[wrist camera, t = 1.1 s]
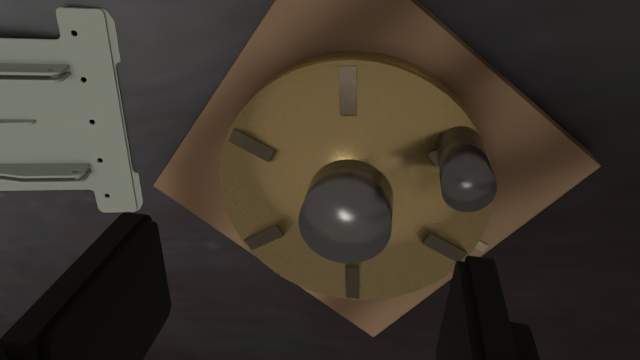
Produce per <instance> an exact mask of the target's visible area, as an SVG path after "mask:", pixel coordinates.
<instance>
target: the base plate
mask: <svg viewBox="0 0 640 360" xmlns="http://www.w3.org/2000/svg"><path fill="white" fill-rule="evenodd" d="M346 51H362V52H373V53H380V54H384V55H388V56H392V57H396V58H399V59H402V60H404V61H407V62H410V63H412V64H415V65H417V66H418V67H420V68H422V69H424V70H426V71H428V72H430V73H431V74H433V75H434V76H435V77H437V78H438V79H439V80H441V81H442V82H444V83H445V84H446V85H447V86H448V87H449V88H450V89H451V90H452V91H453V92H454V93H455V94H457V95H458V96H459V97H460V99H461V100H462V101H463V103H464V104H465V105H466V107H467V108H468V109H469V111H470V112H471V114H472V116H473V117H474V119H475V121H476V123H477V125H478V127H479V129H480V132H481V135H482V137H483V140H484V143H485V146H486V149H487V152H488V155H489V158H490V162H491V167H492V171H493V174H494V177H495V180H496V183H497V192H496V195H495V198H494V199H493V205H492V210H491V214H490V217H489V221H488V224H487V226H486V228H485V231H484V233H483V235H482V237H481V239H480V240H479V242H478V243H477V245H476V247H475V248H474V250H473V251H472V252H471V253H470V254H469V256H476V257H481V256H482V255H483V254H485V253H486V252H487V251H489V250H490V249H491V248H493V247H494V246H495V245H497V244H498V243H499V242H501V241H502V240H503V239H505V238H506V237H507V236H509V235H510V234H511V233H513V232H514V231H515V230H517V229H518V228H519V227H521V226H522V225H523V224H525V223H526V222H527V221H529V220H530V219H531V218H533V217H534V216H535V215H537V214H538V213H539V212H541V211H542V210H543V209H545V208H546V207H547V206H549V205H550V204H551V203H553V202H554V201H555V200H557V199H558V198H559V197H561V196H562V195H563V194H565V193H566V192H567V191H569V190H570V189H571V188H573V187H574V186H575V185H577V184H578V183H579V182H581V181H582V180H583V179H585V178H586V177H587V176H589V175H590V174H591V173H593V172H594V171H595V170H597V169H598V168H599V167H601V166H600V165H599V163H598V162H597V161H596V159H595V158H594V157H593V156H592V154H591V153H590V152H589V151H588V150H587V149H586V148H585V147H584V146H583V145H582V144H580V143H579V142H578V141H577V140H576V139H575V138H574V137H572V136H571V135H570V134H569V133H568V132H567V131H566V130H564V129H563V128H562V127H561V126H560V125H559V124H558V123H556V122H555V121H554V120H553V119H552V118H551V117H550V116H548V115H547V114H546V113H545V112H544V111H543V110H542V109H540V108H539V107H538V106H537V105H536V104H535V103H534V102H532V101H531V100H530V99H529V98H528V97H527V96H526V95H524V94H523V93H522V92H521V91H520V90H519V89H518V88H516V87H515V86H514V85H513V84H512V83H511V82H510V81H509V80H507V79H506V78H505V77H504V76H503V75H502V74H501V73H499V72H498V71H497V70H496V69H495V68H494V67H493V66H491V65H490V64H489V63H488V62H487V61H486V60H485V59H483V58H482V57H481V56H480V55H479V54H478V53H477V52H475V51H474V50H473V49H472V48H471V47H470V46H469V45H467V44H466V43H465V42H464V41H463V40H462V39H461V38H459V37H458V36H457V35H456V34H455V33H454V32H453V31H451V30H450V29H449V28H448V27H447V26H446V25H445V24H443V23H442V22H441V21H440V20H439V19H438V18H437V17H436V16H434V15H433V14H432V13H431V12H430V11H429V10H428V9H426V8H425V7H424V6H423V5H422V4H421V3H420V2H418V1H417V0H275V2H274V3H273V5H272V7H271V8H270V10H269V11H268V13H267V14H266V16H265V17H264V19H263V20H262V22H261V23H260V25H259V26H258V28H257V29H256V31H255V32H254V34H253V35H252V37H251V38H250V40H249V41H248V43H247V44H246V46H245V48H244V49H243V51H242V52H241V54H240V55H239V57H238V58H237V60H236V61H235V63H234V64H233V66H232V67H231V69H230V70H229V72H228V73H227V75H226V76H225V78H224V79H223V81H222V82H221V84H220V86H219V87H218V89H217V90H216V92H215V93H214V95H213V96H212V98H211V99H210V101H209V102H208V104H207V105H206V107H205V108H204V110H203V111H202V113H201V114H200V116H199V117H198V119H197V120H196V122H195V123H194V125H193V127H192V128H191V130H190V131H189V133H188V134H187V136H186V137H185V139H184V140H183V142H182V143H181V145H180V146H179V148H178V149H177V151H176V152H175V154H174V155H173V157H172V158H171V160H170V161H169V163H168V165H167V166H166V168H165V169H164V171H163V172H162V174H161V175H160V177H159V178H158V180H157V181H156V183H155V184H154V187H156V188H157V189H159V190H160V191H162V192H163V193H165V194H166V195H167V196H169V197H170V198H172V199H173V200H175V201H176V202H178V203H179V204H181V205H182V206H183V207H185V208H186V209H188V210H189V211H191V212H192V213H194V214H195V215H197V216H198V217H199V218H201V219H202V220H204V221H205V222H207V223H208V224H210V225H211V226H213V227H214V228H215V229H217V230H218V231H220V232H221V233H223V234H224V235H226V236H227V237H229V238H230V239H231V240H233V241H234V242H236V243H237V244H239V245H240V246H242V247H243V248H245V249H246V250H247V251H249V252H250V253H252V252H251V250H250V249H249V248H248V247H247V246H246V244H245V243H244V242H243V241H242V239H241V238H240V236H239V235H238V233H237V232H236V230H235V228H234V226H233V224H232V222H231V220H230V218H229V216H228V214H227V211H226V208H225V205H224V202H223V198H222V193H221V188H220V161H221V154H222V150H223V146H224V142H225V140H226V137H227V135H228V132H229V130H230V128H231V126H232V124H233V123H234V121H235V119H236V118H237V116H238V114H239V113H240V112H241V111H242V109H243V108H244V107H245V106H246V105H247V103H248V102H249V101H250V100H251V99H252V98H253V96H254V95H255V94H256V93H257V92H258V91H259V90H260V88H261V87H263V86H264V85H265V84H266V83H267V82H268V81H269V80H270V79H272V78H273V77H274V76H276V75H277V74H279V73H280V72H282V71H283V70H285V69H286V68H288V67H290V66H292V65H294V64H296V63H299V62H301V61H303V60H306V59H309V58H312V57H315V56H319V55H323V54H329V53H335V52H346ZM252 254H253V253H252ZM253 255H254V254H253ZM464 261H465V260H464ZM453 272H454V270H453V271H452V272H451V273H449V274H448V275H446V276H445V277H443V278H442V279H440V280H439V281H437V282H435V283H433V284H431V285H429V286H427V287H425V288H423V289H421V290H418V291H415V292H412V293H410V294H406V295H402V296H398V297H393V298H386V299H379V300H353V299H344V298H337V297H332V296H328V295H324V294H320V293H317V292H314V291H311V290H308V289H306V288H303V287H301V286H300V287H301V288H303V289H304V290H306V291H307V292H309V293H310V294H311V295H313V296H314V297H316V298H317V299H319V300H320V301H322V302H323V303H325V304H326V305H327V306H329V307H330V308H332V309H333V310H335V311H336V312H338V313H339V314H341V315H342V316H343V317H345V318H346V319H348V320H349V321H351V322H352V323H354V324H355V325H357V326H358V327H359V328H361V329H362V330H364V331H365V332H367V333H368V334H370V335H371V336H373V337H374V336H376V335H377V334H378V333H380V332H381V331H382V330H384V329H385V328H386V327H388V326H389V325H390V324H392V323H393V322H394V321H396V320H397V319H398V318H400V317H401V316H402V315H404V314H405V313H406V312H408V311H409V310H410V309H412V308H413V307H414V306H416V305H417V304H418V303H420V302H421V301H422V300H424V299H425V298H426V297H428V296H429V295H430V294H432V293H433V292H434V291H436V290H437V289H438V288H440V287H441V286H442V285H444V284H445V283H446V282H448V281H449V280H450V279H452V276H453ZM298 286H299V285H298Z"/></svg>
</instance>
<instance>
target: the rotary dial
mask: <svg viewBox="0 0 640 360" xmlns="http://www.w3.org/2000/svg"><path fill="white" fill-rule="evenodd" d="M220 188H221V193H222V198H223V202H224V205H225V208H226V211H227V214H228V216H229V218H230V220H231V222H232V224H233V226H234V228H235V230H236V232H237V233H238V235H239V236H240V238H241V239H242V241H243V242H244V243H245V244H246V246H247V247H248V248H249V249H250V250H251V252H252V253H253V254H254V255H255V256H256V257H257V258H258V259H260V260H261V261H262V262H263V263H264V264H265V265H266V266H268V267H269V268H270V269H272V270H273V271H274V272H276V273H277V274H279V275H280V276H282V277H284V278H285V279H287V280H289V281H290V282H293V283H295V284H297V285H299V286H301V287H303V288H306V289H308V290H311V291H314V292H317V293H320V294H324V295H328V296H332V297H337V298H344V299H353V300H379V299H386V298H393V297H398V296H402V295H406V294H410V293H412V292H415V291H418V290H421V289H423V288H425V287H427V286H429V285H431V284H433V283H435V282H437V281H439V280H440V279H442V278H443V277H445V276H446V275H448V274H449V273H451V272H452V271H453V270H454V267H455V264H456V261H464V260H465V258H466V256H468V255H469V254H470V253H471V252H472V251H473V250H474V248H475V247H476V245H477V243H478V242H479V240H480V239H481V237H482V235H483V233H484V231H485V228H486V226H487V224H488V221H489V217H490V214H491V210H492V205H493V199H494V198H495V195H496V192H497V183H496V180H495V177H494V174H493V171H492V167H491V162H490V158H489V155H488V152H487V149H486V146H485V143H484V140H483V137H482V135H481V132H480V129H479V127H478V125H477V123H476V121H475V119H474V117H473V116H472V114H471V112H470V111H469V109H468V108H467V107H466V105H465V104H464V103H463V101H462V100H461V99H460V97H459V96H458V95H457V94H455V93H454V92H453V91H452V90H451V89H450V88H449V87H448V86H447V85H446V84H445V83H444V82H442V81H441V80H439V79H438V78H437V77H435V76H434V75H433V74H431V73H430V72H428V71H426V70H424V69H422V68H420V67H418V66H417V65H415V64H412V63H410V62H407V61H404V60H402V59H399V58H396V57H392V56H388V55H384V54H380V53H373V52H362V51H346V52H335V53H329V54H323V55H319V56H315V57H312V58H309V59H306V60H303V61H301V62H299V63H296V64H294V65H292V66H290V67H288V68H286V69H285V70H283V71H282V72H280V73H279V74H277V75H276V76H274V77H273V78H272V79H270V80H269V81H268V82H267V83H266V84H265V85H264V86H263V87H261V88H260V90H259V91H258V92H257V93H256V94H255V95H254V96H253V98H252V99H251V100H250V101H249V102H248V103H247V105H246V106H245V107H244V108H243V109H242V111H241V112H240V113H239V114H238V116H237V118H236V119H235V121H234V123H233V124H232V126H231V128H230V130H229V132H228V135H227V137H226V140H225V142H224V146H223V150H222V154H221V161H220Z"/></svg>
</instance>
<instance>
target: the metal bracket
mask: <svg viewBox="0 0 640 360" xmlns="http://www.w3.org/2000/svg"><path fill="white" fill-rule="evenodd" d="M56 17H57V21H58V26H59V30H60V38H59V39H29V38H0V191H15V190H84V189H89V190H92V191H94V193H95V196H96V201H97V205H98V209H99V210H101V211H102V212H135V211H137V210H139V209H140V208H141V206H142V203H143V200H142V194H141V187H140V183H139V175H138V173H136V172H135V171H134V170H133V167H132V160H131V154H130V148H129V142H128V136H127V130H126V124H125V118H124V112H123V106H122V100H121V94H120V87H119V81H118V75H117V69H116V64H117V63H118V62H121V61H120V55H119V51H118V42H117V36H116V29H115V23H114V20H113V19H112V17H111V15H110V14H109V12H108V11H107V10H106V9H104V8H80V7H59V8H57V10H56ZM72 30H75V31H76V32H77V36H74V35H73V34H72ZM82 77H85V78H86V79H87V81H86V82H83V81H82V79H81V78H82ZM90 120H94V121H95V123H94V124H92V123H91V122H90ZM98 158H101V159H102V160H103V161H102V162H100V161H98ZM105 194H109V195H110V196H109V197H107V196H105Z"/></svg>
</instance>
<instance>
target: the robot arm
mask: <svg viewBox="0 0 640 360" xmlns="http://www.w3.org/2000/svg"><path fill="white" fill-rule="evenodd" d="M170 309H171V300H170V295H169V289H168V283H167V277H166V271H165V265H164V259H163V253H162V247H161V242H160V236H159V230H158V225H157V223H156V222H153V221H152V219H151V217H150V216H149V215H145V214H137V213H130V212H124V213H122V214H121V215H120V216H119V217H118V218H117V219H116V220H115V221H114V222H113V223H112V224H111V225H110V226H109V227H108V228H107V229H106V230H105V231H104V232H103V233H102V234H101V235H100V236H99V238H98V239H97V240H96V241H95V242H94V243H93V244H92V245H91V246H90V247H89V248H88V249H87V250H86V251H85V252H84V253H83V254H82V255H81V256H80V257H79V258H78V259H77V260H76V261H75V262H74V263H73V264H72V265H71V266H70V267H69V268H68V269H67V270H66V271H65V273H64V274H63V275H62V276H61V277H60V278H59V279H58V280H57V281H56V282H55V283H54V284H53V285H52V286H51V287H50V288H49V289H48V290H47V291H46V292H45V293H44V294H43V295H42V296H41V297H40V298H39V299H38V300H37V301H36V302H35V303H34V304H33V305H32V306H31V308H30V309H29V310H28V311H27V312H26V313H25V314H24V315H23V316H22V317H21V318H20V319H19V320H18V321H17V322H16V323H15V324H14V325H13V326H12V327H11V328H10V329H9V330H8V331H7V332H6V333H5V334H4V335H3V336H2V337H1V338H0V360H143V358H144V357H145V355H146V353H147V352H148V350H149V348H150V347H151V345H152V343H153V342H154V340H155V338H156V337H157V335H158V333H159V332H160V330H161V328H162V327H163V325H164V323H165V322H166V320H167V318H168V316H169V313H170ZM436 360H540V359H539V355H538V352H537V349H536V345H535V342H534V338H533V335H532V332H531V330H530V328H529V326H528V325H527V324H521V323H514V322H510V321H509V317H508V313H507V309H506V305H505V301H504V297H503V293H502V289H501V285H500V281H499V277H498V273H497V269H496V265H495V261H494V259H492V258H484V257H476V256H469V255H468V256H466V258H465V261H456V264H455V267H454V272H453V276H452V281H451V285H450V289H449V294H448V298H447V303H446V307H445V312H444V316H443V320H442V325H441V329H440V334H439V338H438V342H437V349H436Z"/></svg>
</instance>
